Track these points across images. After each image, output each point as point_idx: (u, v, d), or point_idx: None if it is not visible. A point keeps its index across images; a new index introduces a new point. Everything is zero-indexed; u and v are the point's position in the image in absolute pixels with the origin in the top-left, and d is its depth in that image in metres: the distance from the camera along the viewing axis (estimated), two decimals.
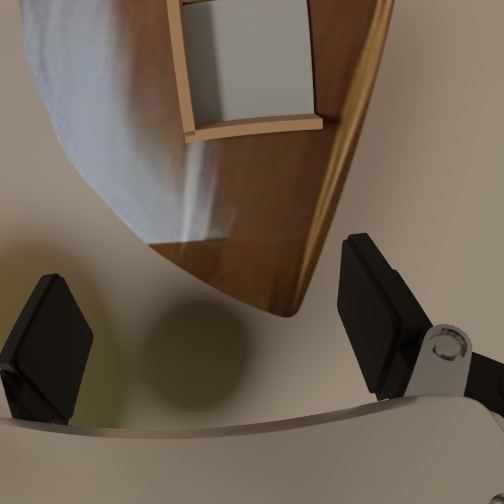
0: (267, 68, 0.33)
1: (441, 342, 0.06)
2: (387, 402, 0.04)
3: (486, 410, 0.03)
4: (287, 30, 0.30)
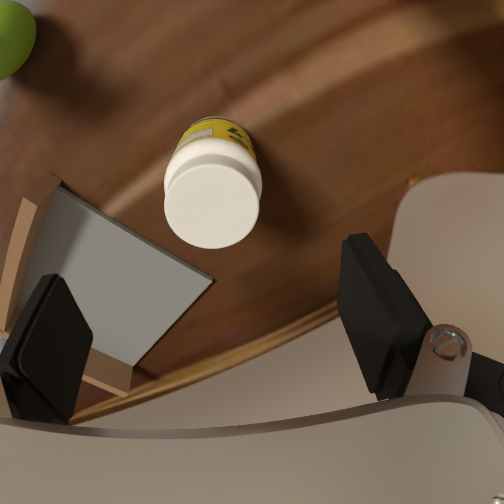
0: (108, 315, 0.27)
1: (441, 342, 0.06)
2: (387, 402, 0.04)
3: (486, 410, 0.03)
4: (157, 300, 0.26)
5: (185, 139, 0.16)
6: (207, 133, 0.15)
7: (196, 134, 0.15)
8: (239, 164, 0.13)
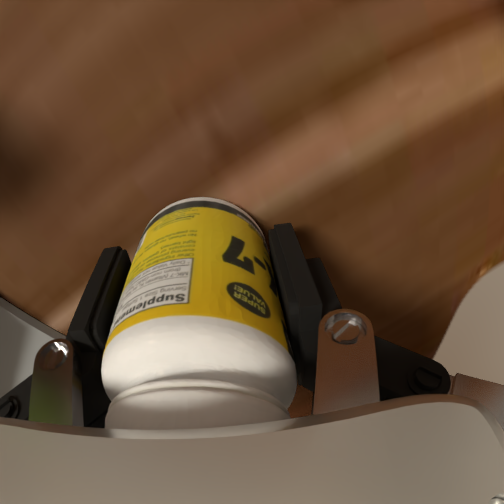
0: None
1: (337, 328, 0.07)
2: (387, 402, 0.04)
3: (486, 410, 0.03)
4: None
5: (136, 279, 0.08)
6: (178, 282, 0.07)
7: (156, 277, 0.07)
8: (257, 408, 0.05)
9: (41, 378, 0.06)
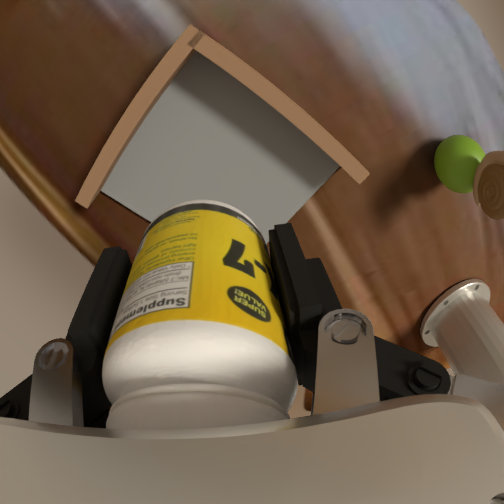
0: (189, 179, 0.26)
1: (337, 328, 0.07)
2: (387, 402, 0.04)
3: (486, 410, 0.03)
4: None
5: (137, 283, 0.08)
6: (179, 286, 0.07)
7: (157, 280, 0.07)
8: (257, 412, 0.05)
9: (41, 378, 0.06)
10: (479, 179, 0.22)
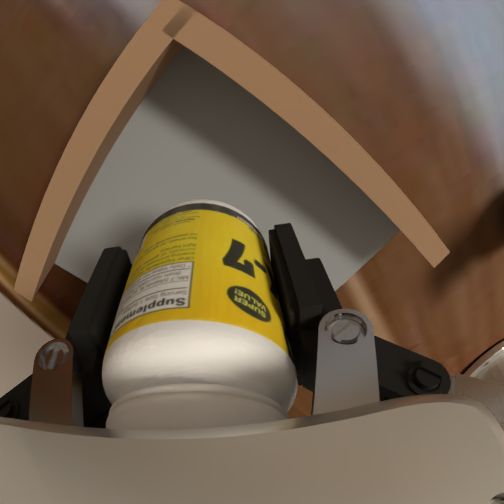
0: None
1: (337, 328, 0.07)
2: (387, 402, 0.04)
3: (486, 410, 0.03)
4: None
5: (137, 283, 0.08)
6: (179, 286, 0.07)
7: (156, 280, 0.07)
8: (257, 412, 0.05)
9: (41, 378, 0.06)
10: None
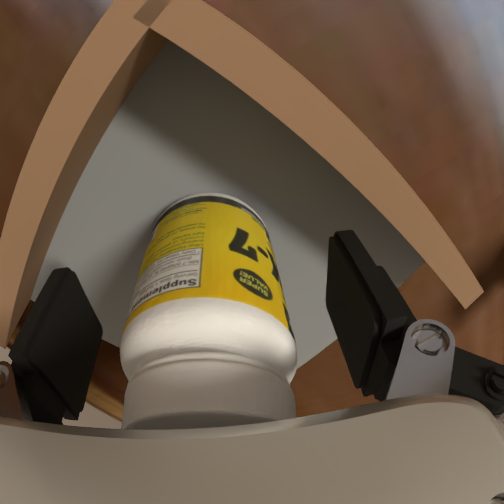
0: None
1: (423, 337, 0.06)
2: (387, 402, 0.04)
3: (486, 410, 0.03)
4: None
5: (151, 268, 0.09)
6: (190, 269, 0.08)
7: (170, 265, 0.08)
8: (261, 377, 0.06)
9: None
10: None
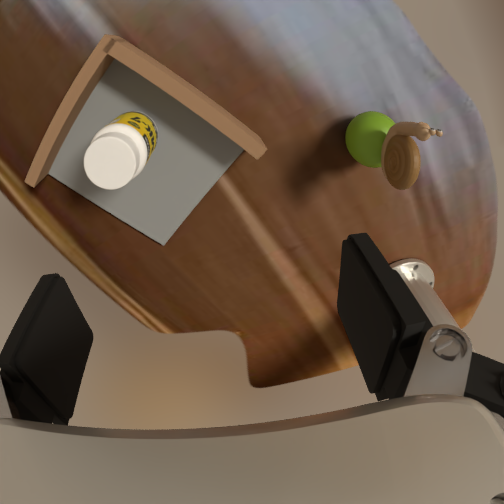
0: None
1: (441, 342, 0.06)
2: (387, 402, 0.04)
3: (486, 410, 0.03)
4: (141, 207, 0.31)
5: None
6: (115, 121, 0.22)
7: (110, 122, 0.22)
8: (125, 136, 0.20)
9: None
10: (385, 151, 0.25)
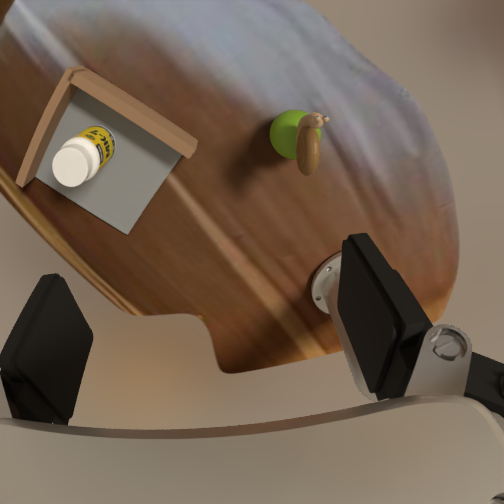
0: None
1: (441, 342, 0.06)
2: (387, 402, 0.04)
3: (486, 410, 0.03)
4: (107, 202, 0.37)
5: None
6: (77, 135, 0.28)
7: (74, 136, 0.28)
8: (80, 146, 0.26)
9: None
10: (297, 143, 0.30)
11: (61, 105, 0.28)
